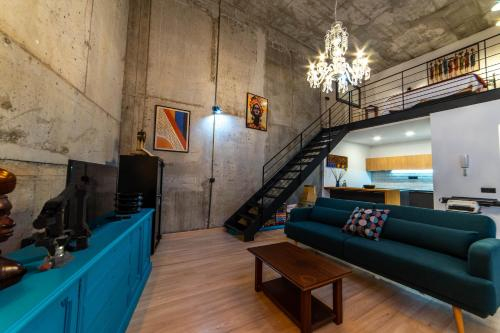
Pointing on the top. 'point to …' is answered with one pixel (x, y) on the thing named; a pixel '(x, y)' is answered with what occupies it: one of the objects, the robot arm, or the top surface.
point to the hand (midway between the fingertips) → (56, 254)
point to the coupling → (58, 251)
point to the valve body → (55, 261)
